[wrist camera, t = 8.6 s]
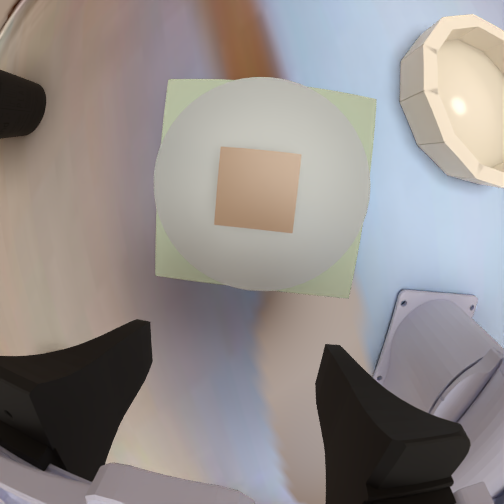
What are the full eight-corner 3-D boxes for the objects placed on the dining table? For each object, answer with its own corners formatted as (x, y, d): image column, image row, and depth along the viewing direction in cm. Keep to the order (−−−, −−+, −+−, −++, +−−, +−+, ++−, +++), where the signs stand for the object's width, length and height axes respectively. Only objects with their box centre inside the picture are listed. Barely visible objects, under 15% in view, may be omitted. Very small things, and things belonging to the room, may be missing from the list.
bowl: (514, 195, 19) (544, 202, 15) (394, 163, 19) (419, 163, 16) (515, 64, 16) (542, 56, 12) (399, 13, 16) (418, -9, 12)
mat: (347, 295, 22) (348, 298, 22) (157, 273, 23) (155, 275, 22) (374, 100, 18) (376, 99, 18) (170, 81, 19) (168, 79, 18)
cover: (348, 296, 22) (365, 328, 17) (155, 273, 22) (128, 299, 18) (375, 97, 18) (402, 80, 13) (168, 77, 18) (140, 57, 14)
